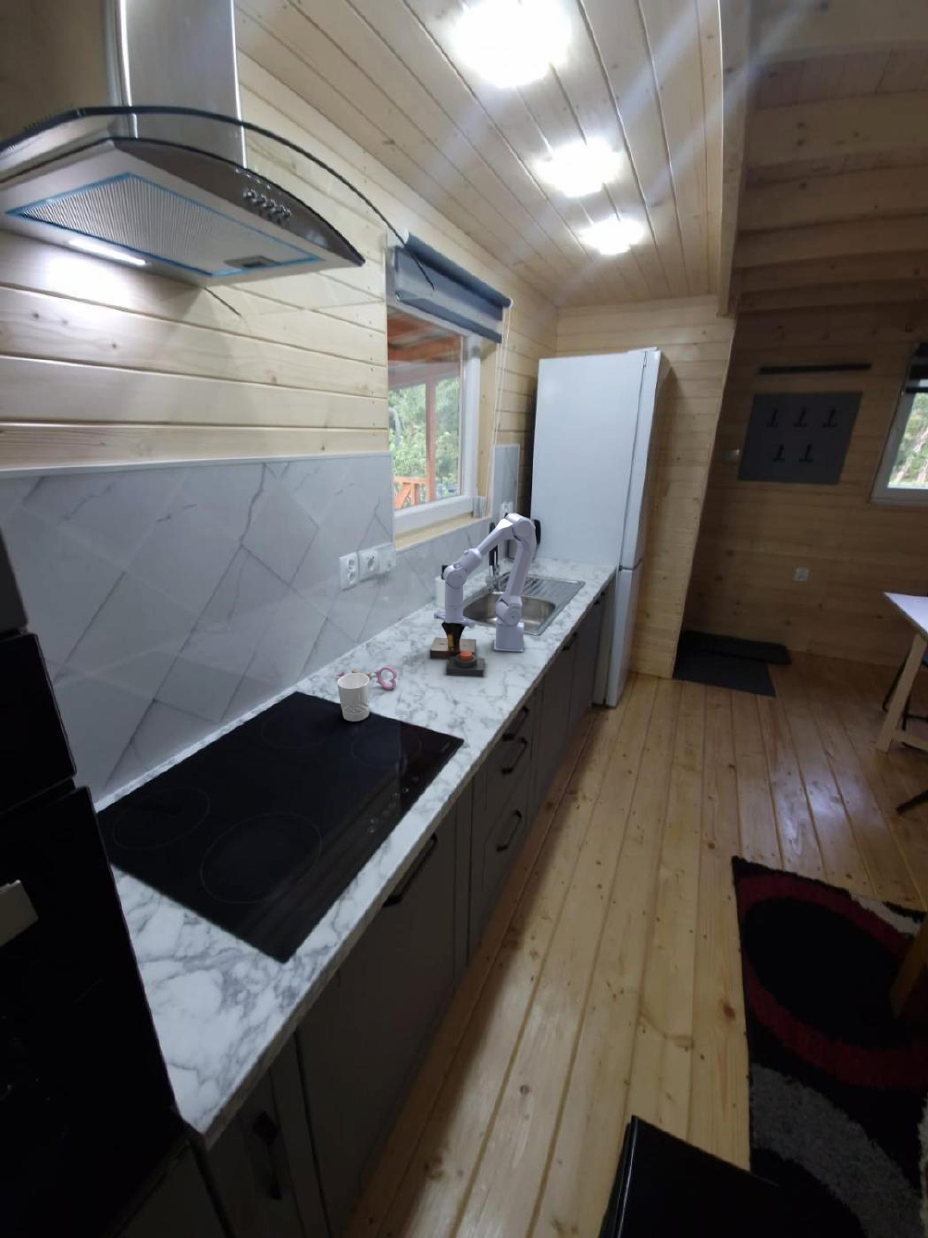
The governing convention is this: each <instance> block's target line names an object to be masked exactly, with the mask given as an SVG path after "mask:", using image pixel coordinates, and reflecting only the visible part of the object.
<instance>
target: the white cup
mask: <svg viewBox="0 0 928 1238" xmlns="http://www.w3.org/2000/svg"><path fill="white" fill-rule="evenodd" d="M361 673H362V672H360V673H352V672H351V673H346V674H347V675H344V676H342V677H339V678H338V679H337V680H336V681H337V682H336V683H337V690H338V691H337V692H338V698H339V703H340V708H341V712H342V717H343V719H344V720H346V721H349V722H360V721H363V720H365V719H367V718H368V717H369V715H370V704H371V702H370V701H371V700H370V699H371V697H370V696H371V695H370V694H371V693H370V692H371V689H370V680H369V677H368V676H367V675H365V674H361Z"/></svg>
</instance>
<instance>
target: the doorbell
mask: <svg viewBox="0 0 928 1238" xmlns="http://www.w3.org/2000/svg"><path fill="white" fill-rule="evenodd" d="M485 662H486V661H485V657H478V656H476V654H475V655H474V654H472V660H469V661H463V660H461V659H460V654H458V655H457V656H456V657H453V656H450V657H449V659H448V662H447V664H446V675H448V676H449V675H450V676H464V677H465V676H467V677H484V671H485V665H486V663H485Z"/></svg>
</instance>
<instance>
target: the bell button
mask: <svg viewBox="0 0 928 1238" xmlns="http://www.w3.org/2000/svg"><path fill="white" fill-rule="evenodd" d="M460 659H461V660H463V661H469V660H472V653H471V652H469V651H463V652H461V653H460Z"/></svg>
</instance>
